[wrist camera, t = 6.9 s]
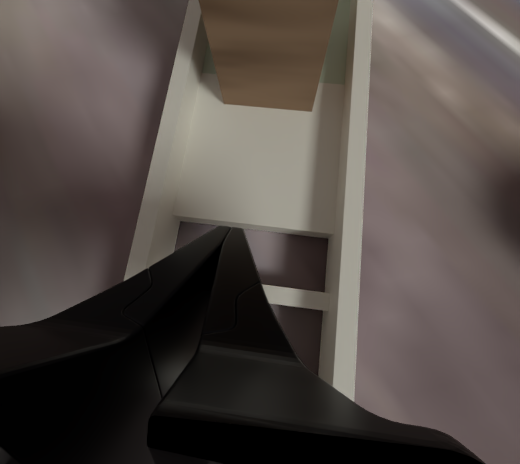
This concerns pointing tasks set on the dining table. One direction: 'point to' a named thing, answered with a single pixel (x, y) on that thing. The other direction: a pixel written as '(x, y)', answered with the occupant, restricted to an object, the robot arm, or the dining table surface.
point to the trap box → (270, 172)
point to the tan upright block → (269, 49)
